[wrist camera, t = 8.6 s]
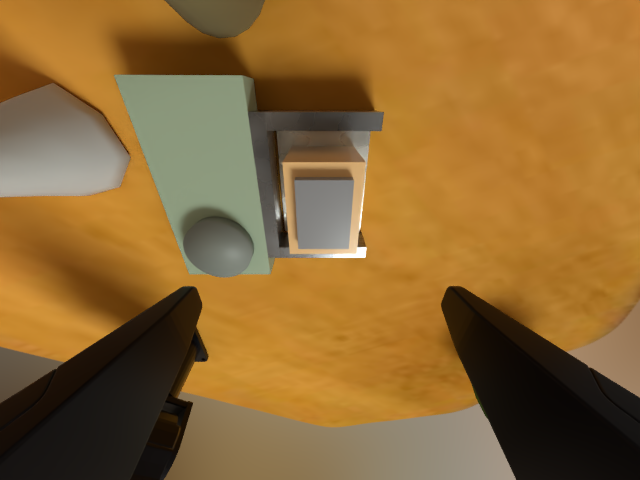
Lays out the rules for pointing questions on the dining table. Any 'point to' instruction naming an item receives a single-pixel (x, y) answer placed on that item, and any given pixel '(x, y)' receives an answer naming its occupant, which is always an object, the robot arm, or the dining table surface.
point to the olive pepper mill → (218, 15)
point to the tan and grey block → (323, 198)
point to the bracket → (302, 132)
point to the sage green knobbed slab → (203, 166)
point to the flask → (57, 146)
